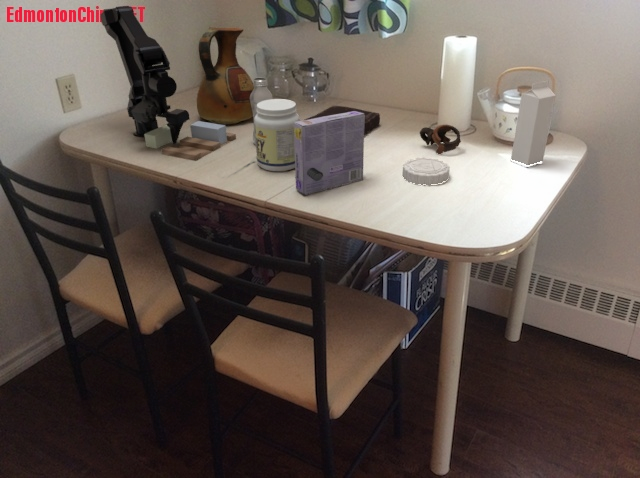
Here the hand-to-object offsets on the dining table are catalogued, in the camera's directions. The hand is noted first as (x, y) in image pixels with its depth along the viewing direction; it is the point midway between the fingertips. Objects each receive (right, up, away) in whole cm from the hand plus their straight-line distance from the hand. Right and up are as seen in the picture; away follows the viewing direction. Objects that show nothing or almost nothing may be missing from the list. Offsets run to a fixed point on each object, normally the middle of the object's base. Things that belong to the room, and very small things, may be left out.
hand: (162, 141), depth 172 cm
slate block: (+14, 0, 0) cm, 14 cm away
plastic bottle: (+31, -2, -1) cm, 31 cm away
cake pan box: (+50, -16, -26) cm, 59 cm away
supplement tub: (+36, -9, -14) cm, 40 cm away
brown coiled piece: (+82, -3, -5) cm, 82 cm away
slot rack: (+12, -3, -3) cm, 13 cm away
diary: (+53, +4, +9) cm, 54 cm away
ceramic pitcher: (+17, +10, +21) cm, 28 cm away
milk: (+104, -9, -15) cm, 106 cm away
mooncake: (+75, -13, -22) cm, 79 cm away
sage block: (0, -1, +1) cm, 1 cm away
